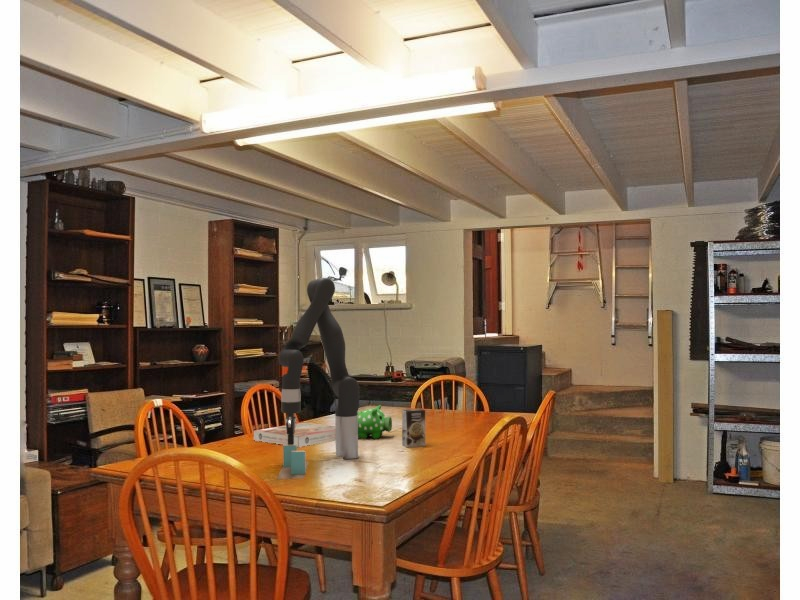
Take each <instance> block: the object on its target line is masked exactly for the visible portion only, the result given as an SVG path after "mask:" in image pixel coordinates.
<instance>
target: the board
mask: <svg viewBox="0 0 800 600" xmlns="http://www.w3.org/2000/svg"><path fill="white" fill-rule="evenodd" d="M305 462H306V470H307V469H308V466H309V463H310V462H309V461H305ZM305 476H306V473H305V474H291V467H283V465H282V467H281V469H280V471H279V473H278V475H277V477H276V480H288V479H289V480H294V479H297V480H299V479H305Z"/></svg>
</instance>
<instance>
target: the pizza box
mask: <svg viewBox="0 0 800 600" xmlns="http://www.w3.org/2000/svg"><path fill="white" fill-rule="evenodd" d="M254 440H255V441H254ZM253 441H254V442H259V441H262V442H261V443H265V442H268V443H267V444H271V443H276V444H275V445H278V444H283V445H282V446H284V445H288V435H287V429H286V424H285V425H279V426H274V427H269V428H267V427H266V428H263V429H262V428H261V429H256V430H253ZM333 441H334V442H336V427H335V425H328V424H320V423H310V422H298V423H296V428H295V434H294V444H297V447H300V448H303V447H302V446H305V447H308V446H307V445H310V446H313V444H315V445H320V444H324V442H325V443H328V442H333ZM319 443H320V444H319Z"/></svg>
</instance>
